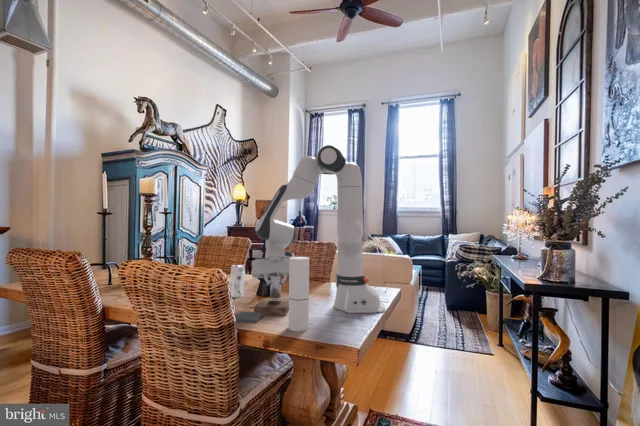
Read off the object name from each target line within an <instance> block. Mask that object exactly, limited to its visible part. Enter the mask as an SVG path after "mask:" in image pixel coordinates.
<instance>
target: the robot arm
mask: <svg viewBox="0 0 640 426" xmlns="http://www.w3.org/2000/svg"><path fill="white" fill-rule="evenodd" d="M321 175H331V176H332V175H335V177H336V181H337V182H336V183H337V186H336V187H337V190H336V191H337V193H336V194H337V212H336V213H337V214H336V215H337V218H336V219H337V220H336V225H337V226H336V232H337V267H336V268H337V269H336V270H337V273H336V276H335V286H336V291H335V297H334V302H333V308H335V309H337V310H339V311H343V312H345V313H348V314H362V313H363V314H366V313H367V314H370V313H371V314H372V313H373V314H374V313H377V312H378V313H383V312H385V311H386V307H385V304H384V303H383V302H382V301H381V300H380V299H381V298H380V295H379V293H378V292H377V291H376V290H375V288H372V286H370V285H369V284H368V282H369V278H368V277H367V276H366V275H365V274H363V236H364V214H363V213H364V211H363V178H362V171H361V168H360V166H359V165H358V163H355V162H352V161H351V162H350V161H349V162H348V161H346V158H345V156H344V155H343V153H342V151H341V150H340V148H338V147H337V146H334V145H331V144H327V145H324V146H322V147H321V148H320V149H319V150H318V153H317V156H316V157H314V156H310V155H306V156H302V158H301V159H300V161H299V162H298V163H297V166H296V167H295V170H294V172H293V174H292V177H291V178H290V179H289V181H288V182H287V183H286V184H282V185H281V186H280V187H279V188H278V190H277V191H276V193H275V194H274V195H273V197H272V199H271V201H270V203H269V205H268V206H267V208H266V209H265V211H264V213H263V214H262V215H261V216H260V218H259V219H258V221H257V223H256V225H255V228H254V231H255V233H256V235H257V237H258V238H259V239H260V240H265V243H264V244H265V249H266V250H265V254H264V255H265V256H264V258H263V257H261V258H255V259H252V261H251V268H252V269H251V276H252V278H253V279H261V278H262V279H264V281H265V283H266V286H269V287H270V273H281V278H282V279H281V286H285V282H286V279H287V278H289V258H291V257H296V255H295V253H293V252H289V251H285V249H287V248H289V247H290V246H291V245H293V244H294V242H295V241H296V238H297V231H296V227H295V226H294V225H292V224H290V223H287V222H284V221H280V220H277V219H275V216H276V214H277V213H278V211H279V209H280V207H281V206H282V205H283V203H285V202H287V201H290V200H302V199H306V198H308V197H310V196H311V195H312V193H313V191H314V189H315V186H316V184H317V182H318V179H319V177H320V176H321Z"/></svg>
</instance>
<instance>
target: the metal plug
mask: <svg viewBox="0 0 640 426" xmlns="http://www.w3.org/2000/svg"><path fill="white" fill-rule="evenodd" d="M269 280H270V286H269V289H270V291H269V292H270V294H269V295H270V296H269V297H270V298H271V299H281V297H282V285H281V280H282V277H281V273H270V277H269Z"/></svg>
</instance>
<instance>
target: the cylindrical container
mask: <svg viewBox="0 0 640 426" xmlns="http://www.w3.org/2000/svg"><path fill="white" fill-rule="evenodd" d="M288 299H289V311H288V329H289V330H290V331H293V332H305V331H307V330H309V328H310V327H309V324H310V323H309V322H310V321H309V319H310V318H309V316H310V315H309V313H310V312H309V310H310V307H309V306H310V305H309V304H310V257H307V256H295V257H291V258H289V277H288Z"/></svg>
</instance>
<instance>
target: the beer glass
mask: <svg viewBox="0 0 640 426" xmlns="http://www.w3.org/2000/svg"><path fill="white" fill-rule="evenodd" d="M245 279H246V266H245V265H244V264H233V265H231V266H230V282H231V288H232V289H231V295H232V297H231V298H234V299H239V298H240V299H241V298H244V296H245V293H244V285H245V281H246V280H245Z"/></svg>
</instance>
